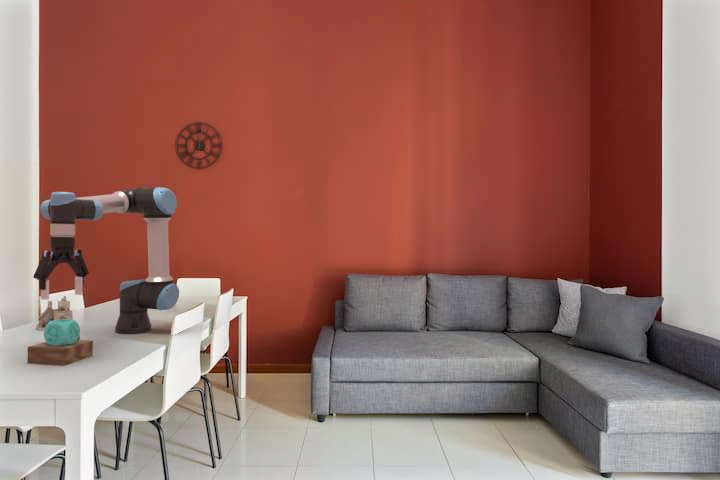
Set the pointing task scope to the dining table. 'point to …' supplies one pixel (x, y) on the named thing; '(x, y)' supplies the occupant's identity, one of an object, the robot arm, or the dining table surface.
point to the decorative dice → (61, 332)
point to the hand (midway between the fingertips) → (62, 297)
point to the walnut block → (59, 353)
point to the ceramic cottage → (54, 313)
